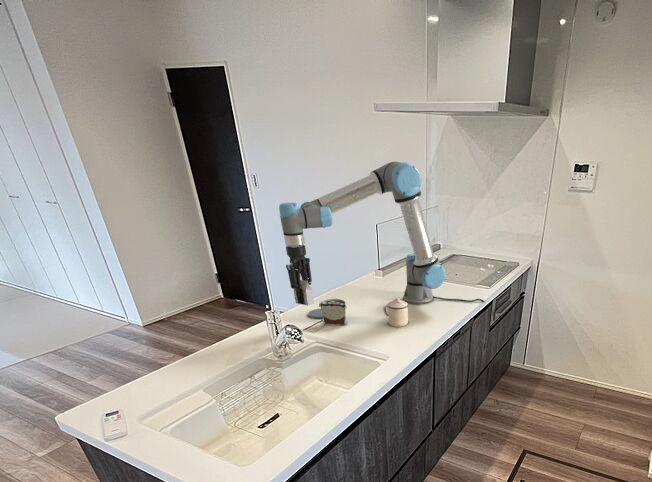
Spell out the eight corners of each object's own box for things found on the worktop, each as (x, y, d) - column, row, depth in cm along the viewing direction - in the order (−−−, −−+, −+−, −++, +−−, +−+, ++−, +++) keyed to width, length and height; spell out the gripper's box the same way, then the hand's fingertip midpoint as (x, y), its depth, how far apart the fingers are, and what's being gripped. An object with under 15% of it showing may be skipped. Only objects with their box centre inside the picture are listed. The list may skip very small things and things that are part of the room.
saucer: (337, 312, 204) (336, 310, 204) (324, 320, 196) (324, 317, 195) (317, 309, 207) (316, 307, 207) (304, 316, 199) (303, 314, 198)
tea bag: (301, 300, 187) (297, 277, 182) (313, 303, 184) (310, 279, 179) (295, 303, 184) (291, 280, 179) (308, 305, 182) (304, 282, 176)
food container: (351, 320, 196) (349, 299, 190) (348, 325, 190) (346, 303, 185) (325, 319, 196) (322, 297, 191) (321, 324, 191) (318, 302, 186)
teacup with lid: (412, 321, 195) (411, 297, 189) (401, 328, 188) (400, 302, 182) (389, 317, 200) (388, 292, 194) (378, 323, 193) (377, 298, 187)
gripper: (299, 240, 179) (308, 294, 192) (273, 249, 166) (285, 307, 178) (315, 241, 177) (323, 296, 190) (290, 250, 164) (300, 309, 176)
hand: (304, 301), depth 184 cm, fingers closed on tea bag, 4 cm apart
